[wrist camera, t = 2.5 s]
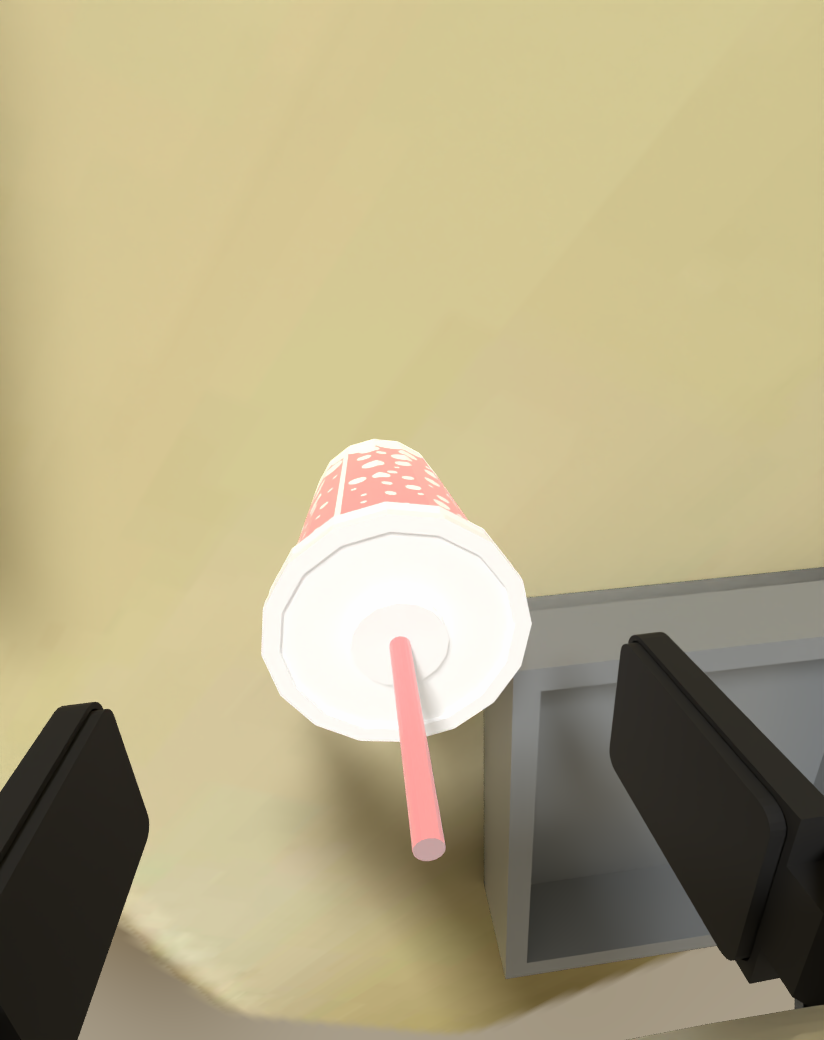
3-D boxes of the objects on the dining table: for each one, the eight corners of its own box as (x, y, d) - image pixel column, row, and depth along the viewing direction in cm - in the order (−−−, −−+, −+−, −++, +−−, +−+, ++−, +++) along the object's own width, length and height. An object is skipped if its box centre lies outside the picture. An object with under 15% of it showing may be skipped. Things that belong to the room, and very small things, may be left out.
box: (883, 561, 24) (994, 617, 20) (792, 839, 31) (859, 923, 27) (483, 602, 23) (513, 671, 19) (484, 883, 30) (505, 979, 26)
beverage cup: (346, 595, 22) (343, 1025, 9) (263, 466, 20) (101, 805, 7) (483, 528, 21) (684, 884, 9) (416, 387, 19) (555, 592, 6)
